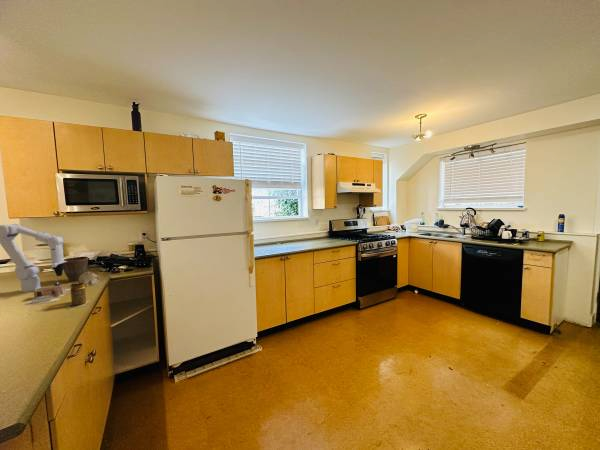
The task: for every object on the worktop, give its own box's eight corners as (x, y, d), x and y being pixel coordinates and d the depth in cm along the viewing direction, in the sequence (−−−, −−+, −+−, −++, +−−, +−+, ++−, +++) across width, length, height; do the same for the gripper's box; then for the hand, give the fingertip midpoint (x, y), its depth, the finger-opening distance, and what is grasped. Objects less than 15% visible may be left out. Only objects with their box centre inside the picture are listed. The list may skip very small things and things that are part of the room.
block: (46, 296, 148) (45, 289, 147) (55, 294, 150) (54, 288, 149) (43, 298, 144) (42, 291, 144) (52, 297, 146) (51, 290, 146)
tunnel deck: (43, 293, 155) (42, 284, 155) (72, 289, 162) (71, 280, 161) (21, 308, 132) (19, 297, 132) (56, 303, 139) (55, 293, 138)
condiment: (89, 300, 142) (87, 280, 141) (84, 306, 135) (82, 284, 134) (72, 303, 139) (70, 282, 138) (66, 308, 131) (64, 286, 130)
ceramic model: (105, 283, 173) (104, 269, 172) (90, 289, 162) (88, 274, 161) (88, 283, 175) (87, 269, 174) (71, 288, 164) (70, 273, 163)
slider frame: (50, 290, 157) (49, 282, 156) (65, 288, 160) (64, 280, 160) (32, 302, 137) (31, 293, 136) (50, 300, 140) (49, 291, 139)
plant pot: (93, 279, 183) (91, 257, 182) (66, 285, 171) (64, 262, 169) (85, 276, 191) (83, 255, 190) (59, 281, 179) (57, 259, 177)
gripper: (61, 256, 156) (63, 277, 157) (69, 252, 169) (71, 272, 170) (45, 257, 153) (48, 279, 154) (55, 253, 165) (57, 273, 167)
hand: (59, 275), depth 162 cm, fingers closed
